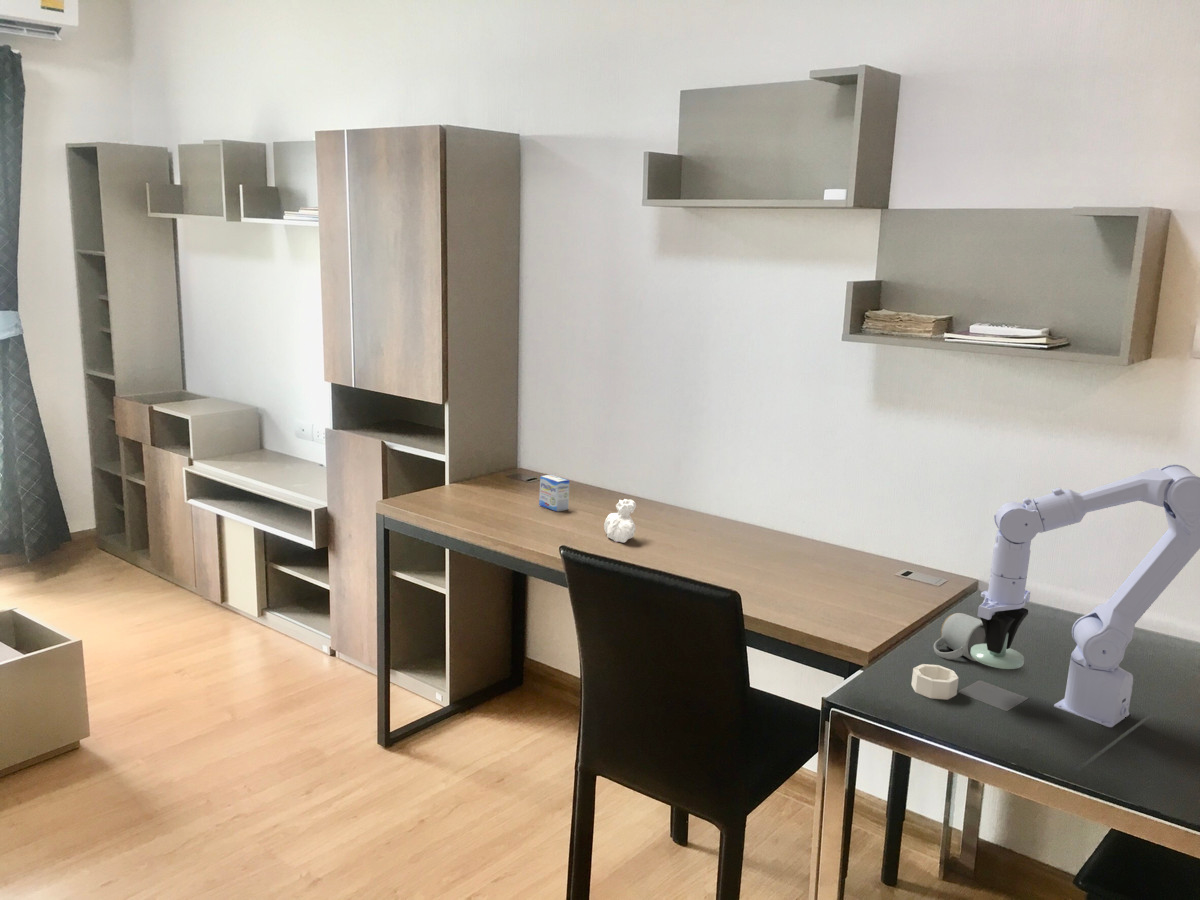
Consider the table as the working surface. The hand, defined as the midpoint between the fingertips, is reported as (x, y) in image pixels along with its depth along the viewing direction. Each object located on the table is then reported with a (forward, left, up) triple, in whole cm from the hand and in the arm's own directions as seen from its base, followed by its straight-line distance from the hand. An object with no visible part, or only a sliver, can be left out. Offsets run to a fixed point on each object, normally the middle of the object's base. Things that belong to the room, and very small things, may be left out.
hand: (998, 649), depth 171 cm
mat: (0, 0, -9) cm, 9 cm away
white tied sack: (+104, -10, -9) cm, 105 cm away
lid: (0, 0, -2) cm, 2 cm away
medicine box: (+136, -14, -9) cm, 137 cm away
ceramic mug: (+13, -13, -9) cm, 20 cm away
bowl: (+7, +6, -9) cm, 13 cm away
